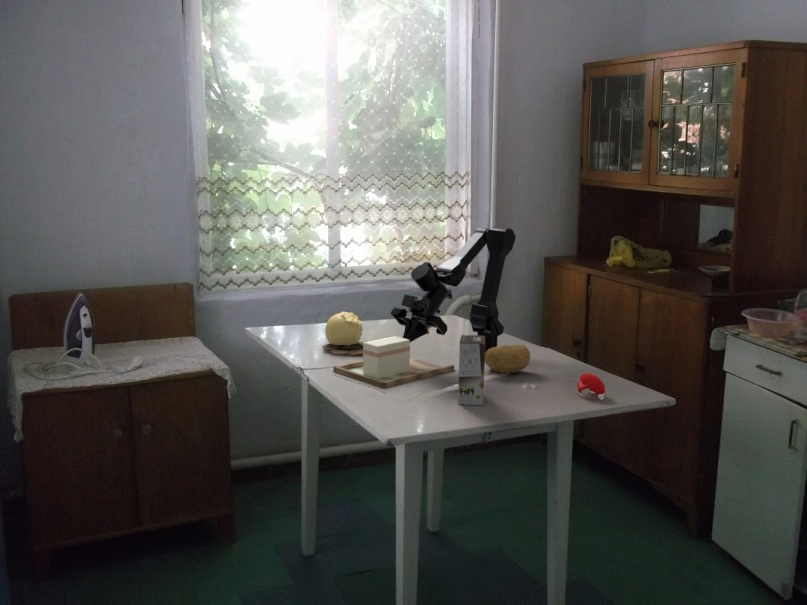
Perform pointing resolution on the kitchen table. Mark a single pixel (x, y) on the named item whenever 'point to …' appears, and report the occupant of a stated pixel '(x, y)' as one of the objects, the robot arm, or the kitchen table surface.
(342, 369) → the tray
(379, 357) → the cream block
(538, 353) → the kitchen table surface
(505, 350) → the potato
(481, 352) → the coffee box
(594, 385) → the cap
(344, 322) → the sculpture
